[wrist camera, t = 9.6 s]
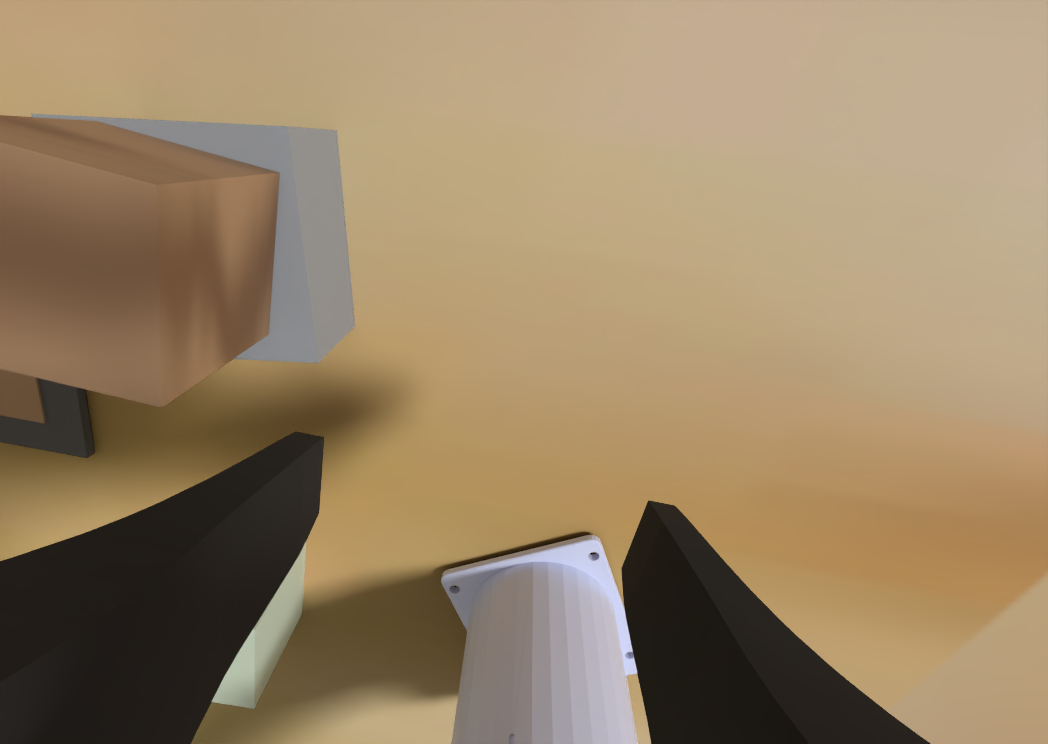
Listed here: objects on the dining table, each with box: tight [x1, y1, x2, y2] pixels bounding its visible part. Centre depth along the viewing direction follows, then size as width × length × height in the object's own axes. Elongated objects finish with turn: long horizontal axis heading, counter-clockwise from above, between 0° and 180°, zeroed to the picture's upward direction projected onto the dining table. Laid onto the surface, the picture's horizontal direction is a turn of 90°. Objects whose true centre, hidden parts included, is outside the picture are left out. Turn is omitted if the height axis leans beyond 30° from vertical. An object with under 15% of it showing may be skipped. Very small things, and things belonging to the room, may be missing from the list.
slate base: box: [31, 114, 355, 363], centre depth 17 cm, size 7×7×4 cm
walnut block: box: [0, 115, 280, 408], centre depth 13 cm, size 5×5×5 cm
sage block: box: [212, 542, 306, 709], centre depth 23 cm, size 5×5×5 cm
